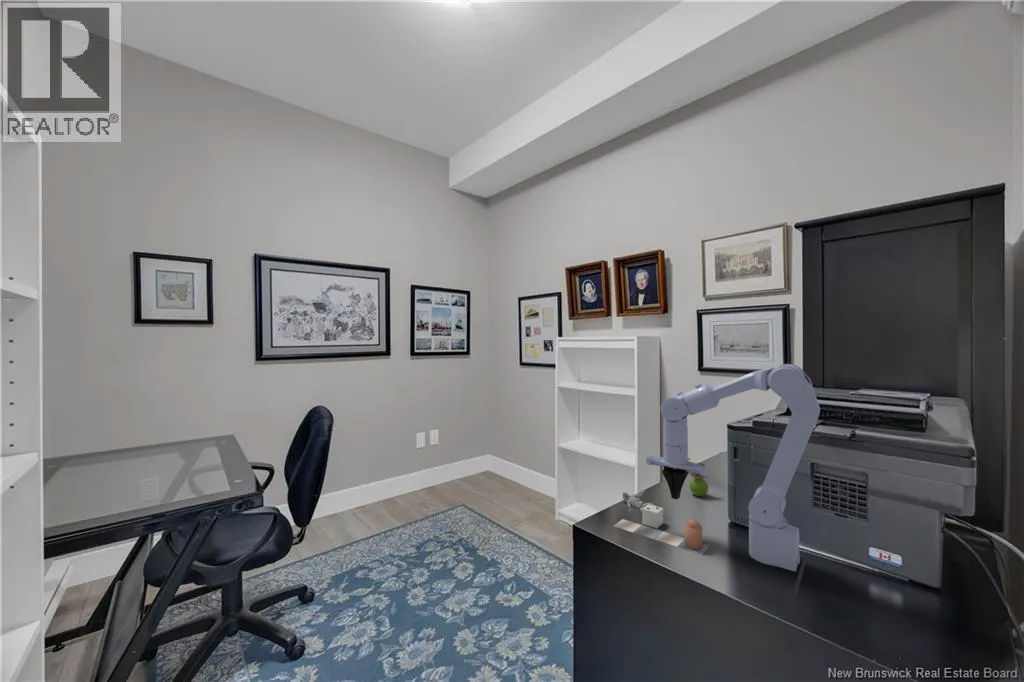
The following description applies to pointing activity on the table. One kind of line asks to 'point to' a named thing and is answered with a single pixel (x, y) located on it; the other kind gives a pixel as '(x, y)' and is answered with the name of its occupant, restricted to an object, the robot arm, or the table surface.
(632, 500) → the soldier figure
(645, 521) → the die
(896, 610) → the table surface
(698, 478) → the snail figurine
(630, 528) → the board
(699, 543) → the pawn
